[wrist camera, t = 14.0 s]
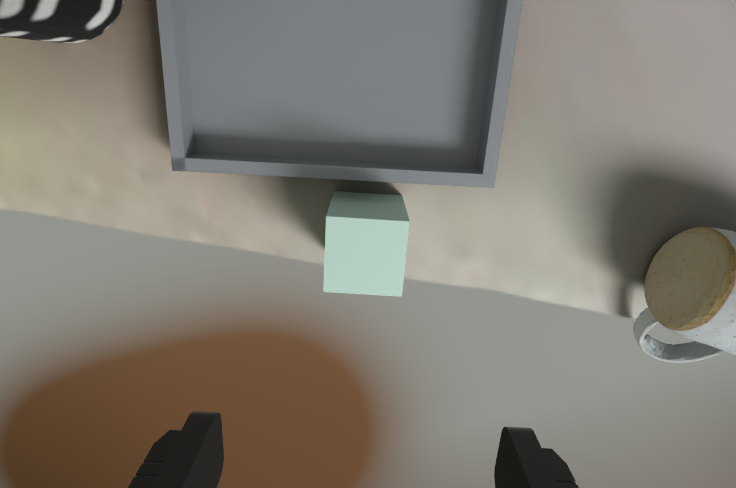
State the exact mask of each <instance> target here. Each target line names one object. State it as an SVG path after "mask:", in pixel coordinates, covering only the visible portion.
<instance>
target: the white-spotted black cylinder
mask: <svg viewBox="0 0 736 488" xmlns="http://www.w3.org/2000/svg"><path fill="white" fill-rule="evenodd" d="M123 3H124V0H0V36H2V37H11V38H21V39H30V40H39V41H49V42H58V43H79V42H83V41H87V40H91V39H93V38H95V37H96V36H98V35H100V34H102V33H103V32H104V31H105V30H106V29H108V28H109V27H110V26H111V25H112V23H113V22H114V21H115V19H116V18H117V16H118V15H119V13H120V10H121V8H122V6H123Z"/></svg>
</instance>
